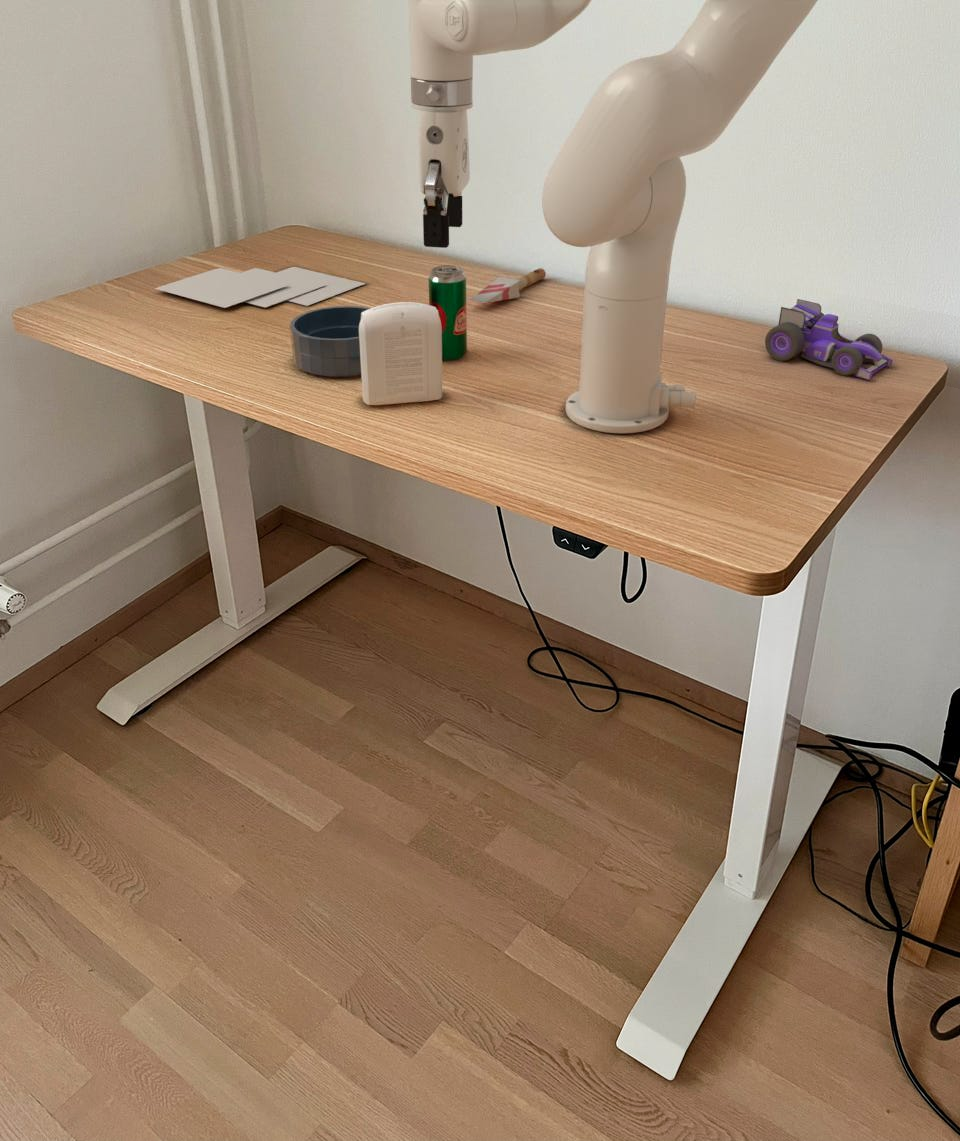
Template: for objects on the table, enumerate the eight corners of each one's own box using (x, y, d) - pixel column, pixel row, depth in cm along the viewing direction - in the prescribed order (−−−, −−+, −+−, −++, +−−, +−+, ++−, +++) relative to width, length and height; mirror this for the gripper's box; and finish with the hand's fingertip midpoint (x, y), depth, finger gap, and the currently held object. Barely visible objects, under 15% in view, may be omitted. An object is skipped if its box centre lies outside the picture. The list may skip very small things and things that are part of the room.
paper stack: (259, 258, 182) (259, 254, 181) (365, 283, 169) (365, 279, 169) (154, 292, 166) (154, 288, 166) (263, 322, 154) (262, 318, 153)
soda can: (462, 363, 140) (461, 276, 133) (426, 361, 141) (424, 274, 134) (470, 350, 144) (469, 265, 137) (435, 348, 145) (433, 263, 138)
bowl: (402, 346, 146) (401, 308, 143) (380, 382, 134) (377, 342, 131) (311, 341, 147) (307, 303, 144) (281, 376, 136) (276, 337, 133)
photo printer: (439, 388, 132) (437, 294, 126) (446, 401, 129) (443, 305, 122) (360, 396, 130) (354, 301, 124) (365, 409, 127) (358, 312, 120)
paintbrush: (466, 289, 157) (532, 263, 171) (466, 307, 158) (531, 280, 173) (487, 293, 155) (552, 267, 170) (487, 311, 157) (551, 283, 171)
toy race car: (864, 384, 133) (875, 336, 129) (762, 356, 142) (769, 310, 138) (895, 364, 139) (906, 317, 135) (795, 338, 147) (802, 294, 144)
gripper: (459, 106, 117) (460, 256, 126) (483, 84, 131) (482, 220, 140) (395, 104, 118) (401, 253, 127) (425, 82, 132) (428, 217, 141)
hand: (443, 236), depth 134 cm, fingers open, 9 cm apart
